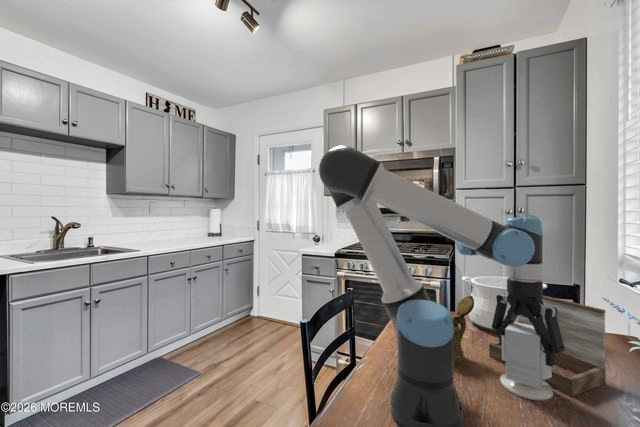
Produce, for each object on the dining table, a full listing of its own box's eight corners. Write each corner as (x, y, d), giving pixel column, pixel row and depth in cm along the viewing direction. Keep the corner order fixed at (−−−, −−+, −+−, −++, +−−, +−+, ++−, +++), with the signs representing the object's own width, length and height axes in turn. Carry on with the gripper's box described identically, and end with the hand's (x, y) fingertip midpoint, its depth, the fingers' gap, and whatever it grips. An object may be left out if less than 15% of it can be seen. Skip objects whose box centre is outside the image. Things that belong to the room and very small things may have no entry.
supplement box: (545, 377, 77) (545, 327, 77) (540, 390, 71) (540, 336, 71) (511, 367, 82) (511, 320, 82) (504, 378, 76) (504, 328, 76)
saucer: (533, 405, 69) (533, 401, 69) (490, 380, 80) (490, 377, 80) (563, 393, 74) (563, 390, 74) (519, 372, 84) (518, 369, 84)
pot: (458, 329, 115) (457, 283, 115) (465, 310, 136) (465, 271, 136) (551, 345, 100) (551, 292, 100) (544, 322, 121) (543, 278, 121)
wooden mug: (483, 359, 91) (483, 299, 91) (443, 365, 88) (442, 303, 88) (463, 346, 100) (463, 292, 100) (426, 351, 97) (425, 294, 97)
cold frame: (572, 396, 72) (571, 317, 72) (489, 356, 93) (488, 295, 93) (606, 383, 78) (605, 309, 78) (520, 348, 98) (520, 290, 98)
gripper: (584, 286, 68) (585, 387, 68) (495, 270, 88) (495, 347, 88) (563, 290, 65) (564, 395, 65) (476, 272, 85) (477, 352, 85)
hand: (525, 367), depth 77 cm, fingers closed on supplement box, 9 cm apart
